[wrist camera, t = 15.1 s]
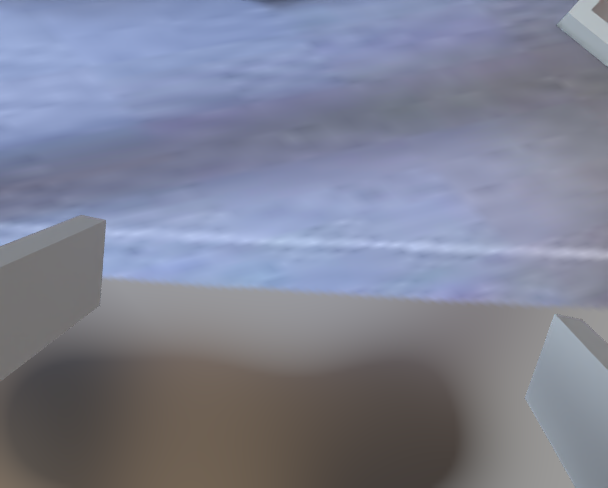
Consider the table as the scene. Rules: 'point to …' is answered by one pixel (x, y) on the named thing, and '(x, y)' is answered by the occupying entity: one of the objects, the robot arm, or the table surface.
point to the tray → (589, 26)
